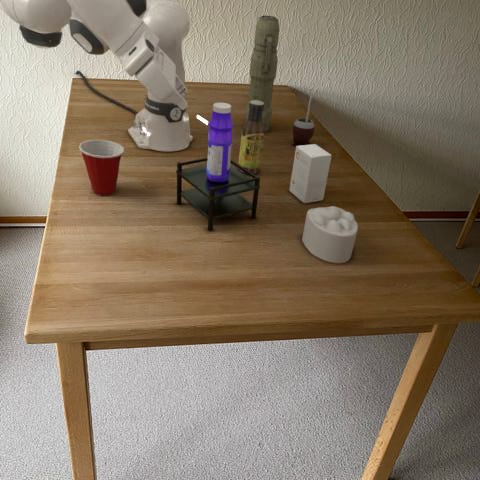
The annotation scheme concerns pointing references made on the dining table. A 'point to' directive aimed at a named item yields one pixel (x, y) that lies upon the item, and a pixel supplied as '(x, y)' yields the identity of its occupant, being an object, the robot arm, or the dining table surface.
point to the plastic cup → (102, 164)
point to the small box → (310, 173)
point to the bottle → (219, 143)
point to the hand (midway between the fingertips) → (185, 100)
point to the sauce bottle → (252, 138)
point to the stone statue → (264, 66)
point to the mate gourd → (303, 129)
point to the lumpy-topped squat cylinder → (330, 233)
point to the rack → (217, 191)
